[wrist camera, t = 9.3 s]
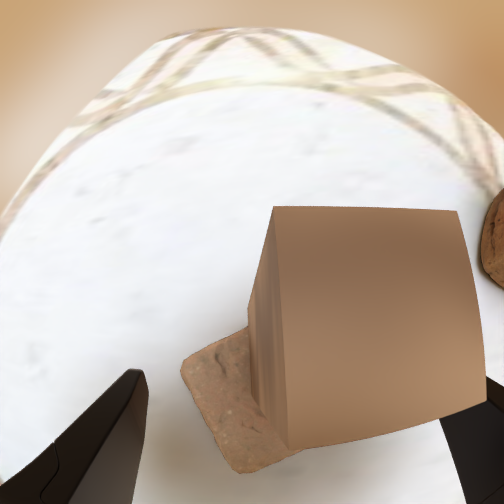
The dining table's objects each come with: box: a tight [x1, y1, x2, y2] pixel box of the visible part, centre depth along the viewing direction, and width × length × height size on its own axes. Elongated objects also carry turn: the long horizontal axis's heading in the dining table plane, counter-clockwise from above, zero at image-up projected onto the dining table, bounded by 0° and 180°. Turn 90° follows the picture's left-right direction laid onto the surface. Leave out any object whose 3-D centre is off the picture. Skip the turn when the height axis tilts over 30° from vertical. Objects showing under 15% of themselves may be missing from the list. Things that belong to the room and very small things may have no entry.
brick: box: [180, 327, 303, 474], centre depth 19 cm, size 17×8×5 cm, turn 118°
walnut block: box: [248, 206, 487, 451], centre depth 12 cm, size 5×5×12 cm
